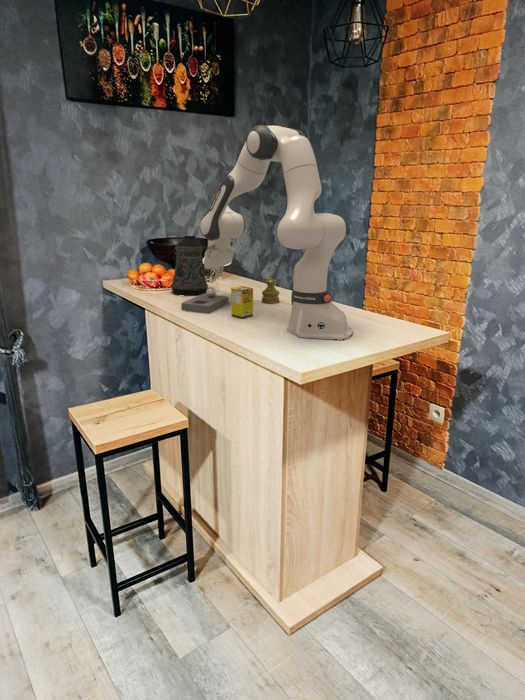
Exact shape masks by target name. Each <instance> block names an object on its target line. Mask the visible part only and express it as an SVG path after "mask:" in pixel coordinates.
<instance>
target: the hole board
mask: <svg viewBox="0 0 525 700" xmlns="http://www.w3.org/2000/svg"><path fill="white" fill-rule="evenodd" d="M228 303H229V296H226V295H217V294H216V295H215V296H214V297H208V296H207V294H201V295H198V296H193V297H192V298H190V299H188V300H185V301H184V302H181V305H180V306H181V311H182V310H185V311H184V312H189V311H191V312H190V313H198V312H199V313H200V314H211V312H212V313H213V312H216V311H217V310H219V309H221V308H223V307H225V306H227V305H228ZM226 304H227V305H226ZM224 305H225V306H224Z"/></svg>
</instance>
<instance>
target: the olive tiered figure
mask: <svg viewBox="0 0 525 700" xmlns="http://www.w3.org/2000/svg"><path fill="white" fill-rule="evenodd" d="M264 283H265V284H266V285H267V287H266V288H265V289H263V290H262V291H261V295H262V296H261V302H262V303H263V304H267V303H268V305H269V304H270V305H272V304H274V303H275V304H279V302H280V296H279V295H280V291H279V290H277V288H275V285H276V284H277V283H278V282H277V280H276V279H274V278H273V277H271V278H270V277H269V278H268V279H266V280H264Z"/></svg>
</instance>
